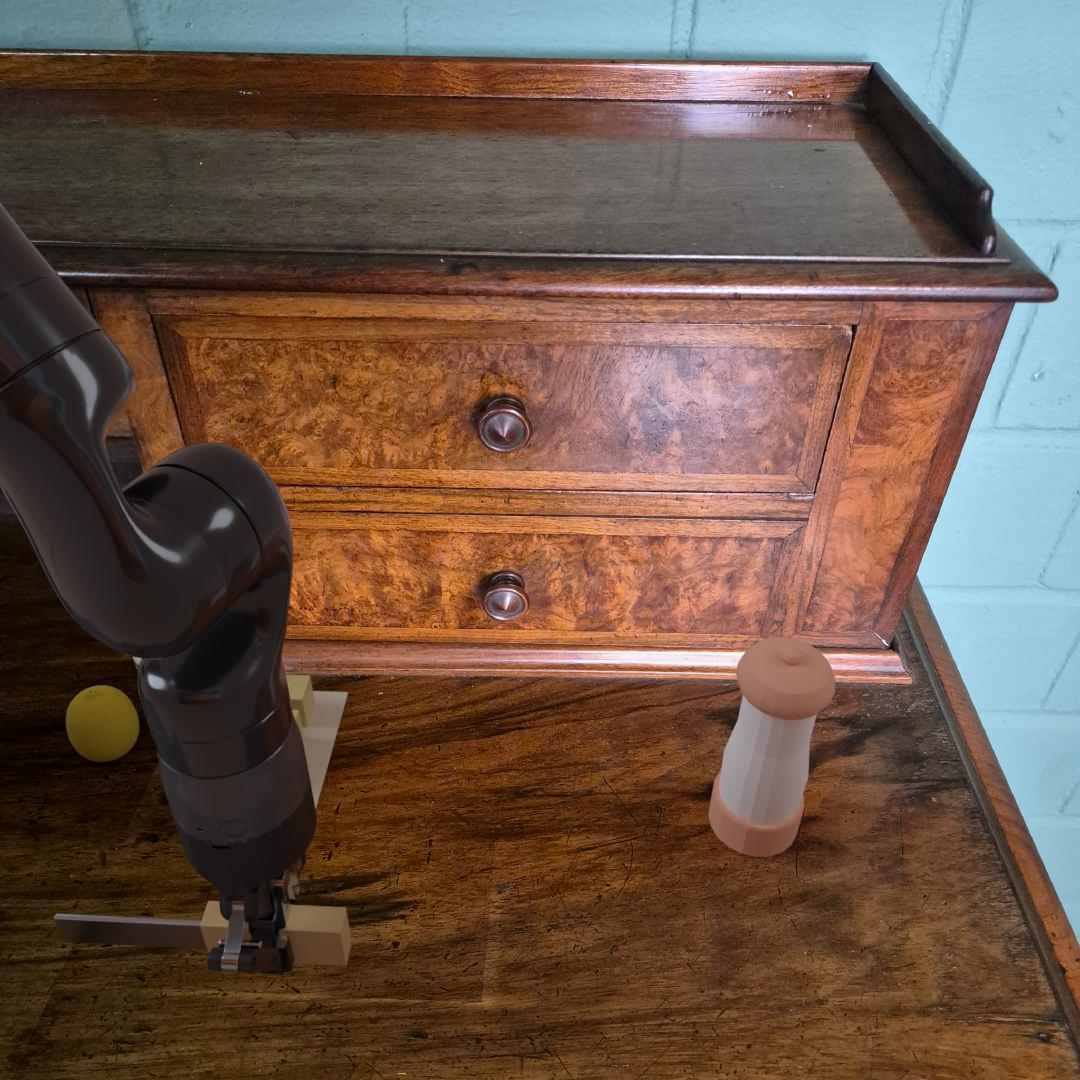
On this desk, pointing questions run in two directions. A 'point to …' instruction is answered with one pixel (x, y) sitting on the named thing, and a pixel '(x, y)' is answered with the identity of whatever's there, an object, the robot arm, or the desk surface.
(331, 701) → the butter dish
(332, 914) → the knife
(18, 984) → the desk surface
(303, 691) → the butter slice
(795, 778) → the pepper shaker
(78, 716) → the lemon
